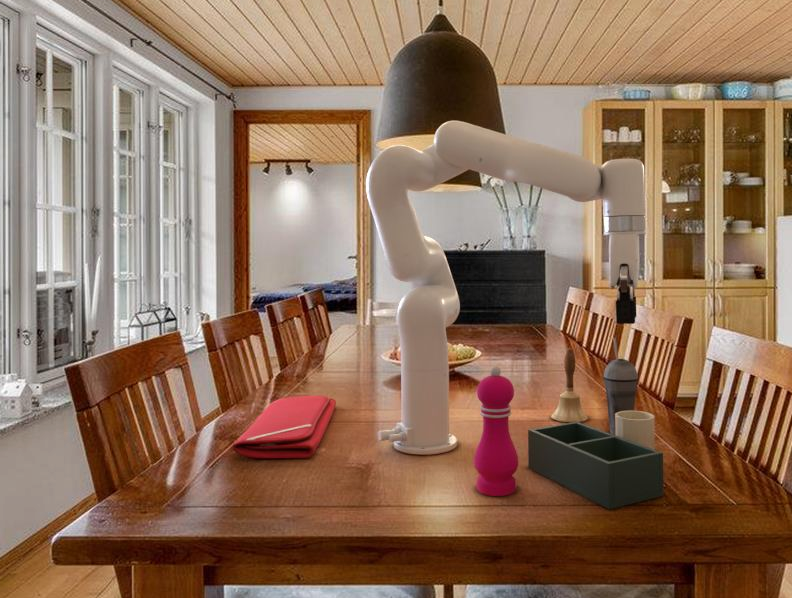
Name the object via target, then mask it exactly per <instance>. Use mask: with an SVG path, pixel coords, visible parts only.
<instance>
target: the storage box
mask: <svg viewBox="0 0 792 598" xmlns="http://www.w3.org/2000/svg"><path fill="white" fill-rule="evenodd" d="M527 447H528V448H527V449H528V450H527V451H528V452H527V454H528V455H527V457H528V459H527V461H528V465H527V466H528V468H527V469H530V470H531V471H533V472H536V473H538V474H540V475H542V476H544V477H546V478H547V479H549V480H551V481H553V482H555V483H557V484H559V485H561V486H563V487H565V488H567V489H569V490H570V491H573V492H575V493H577V494H579V495H580V496H583V497H584V498H586V499H588V500H590V501H592V502H594V503H596V504H597V505H600V506H602V507H604V508H606V509H607V510H612V509H617V508H620V507H624V506H629V505H633V504H636V503H640V502H645V501H649V500H653V499H656V498H661V497H664V495H665V493H664V492H665V491H664V452H662V451H659V450H657V449H655V450H654V449H651V448H648V447H646V446H643V445H640V444H637V443H635V442H632V441H629V440H626V439H624V438H621V437H618V436H615V435H613V434H611V433H610V432H608V431H604V430H601V429H598V428H596V427H594V426H590V425H588V424H586V423H583V422H572V423H569V422H565V423H561V424H554V425H549V426H548V425H547V426H541V427H536V428H531V429H528V430H527Z"/></svg>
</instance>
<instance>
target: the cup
mask: <svg viewBox="0 0 792 598" xmlns="http://www.w3.org/2000/svg"><path fill="white" fill-rule="evenodd" d="M655 418H656V417H655V414H653V413H651V412H647V411H642V410H634V411H632V410H631V411H620V412H617V413H616V414H615V436H618V437H621V438H624V439H626V440H629V441H632V442H635V443H637V444H640V445H643V446H646V447H648V448H651V449H654V450H656V423H655V422H656V421H655Z"/></svg>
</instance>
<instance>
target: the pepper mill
mask: <svg viewBox="0 0 792 598" xmlns="http://www.w3.org/2000/svg"><path fill="white" fill-rule="evenodd" d="M501 373H502V370H501V368H500V367H499V366H498V365H493V366H492V367H490V369H489V374H490V375H488V376H485V377H483V378H482V379H481V380H480V381H479V382H478V384H477V388H476V395H477V398H478V400H479V402H480V403H481V405H480V407H479V408H480V412H479V413H480V415H481V416H482V422H483V425H482V433H481V437H480V440H479V443H478V445H477V447H476V450H475V453H474V456H473V466H474V469H475V470H476V472H477V473H478V474H479V475H478V476H477V478H476V489H477V491H478V492H479V493H480V494H482V495H485V496H489V497H504V496H505V497H506V496H508V495H512V494H513V493H514V492H515V491H516V489H517V488H516V486H517V485H516V483H517V482H516V480H517V479H516V478H515V476H514V474H515V473H516V472H517V470H518V469H519V456H518V451H517V450H516V449H517V448H516V447H515V445H514V442H513V439H512V438H511V433H510V430H509V429H510V428H509V427H510V426H509V417H510V416H511V415H512V412H511V409H512V406H511V405H510V403H511V402H512V401H513V399H514V396H515V389H514V385H513V383H512V382H511V380H509V378H507V377H506V376H503V375H501Z"/></svg>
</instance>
